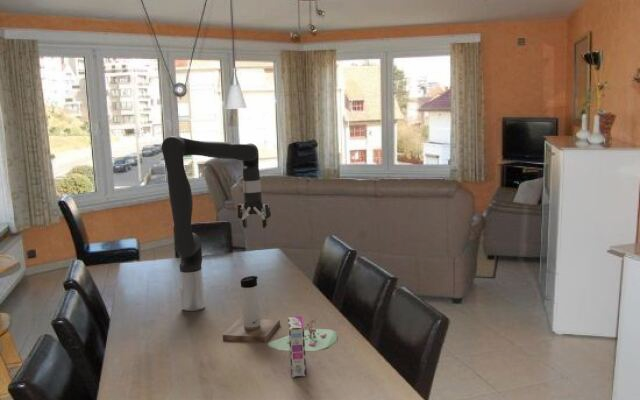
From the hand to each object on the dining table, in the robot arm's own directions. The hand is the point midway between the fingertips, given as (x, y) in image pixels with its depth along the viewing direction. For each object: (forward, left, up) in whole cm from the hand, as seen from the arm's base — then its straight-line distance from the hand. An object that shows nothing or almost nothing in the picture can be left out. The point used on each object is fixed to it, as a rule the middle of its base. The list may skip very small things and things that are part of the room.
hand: (255, 227), depth 254 cm
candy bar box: (+35, -61, -34) cm, 78 cm away
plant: (+30, -38, -35) cm, 60 cm away
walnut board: (+8, -32, -34) cm, 47 cm away
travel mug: (+8, -32, -32) cm, 46 cm away
